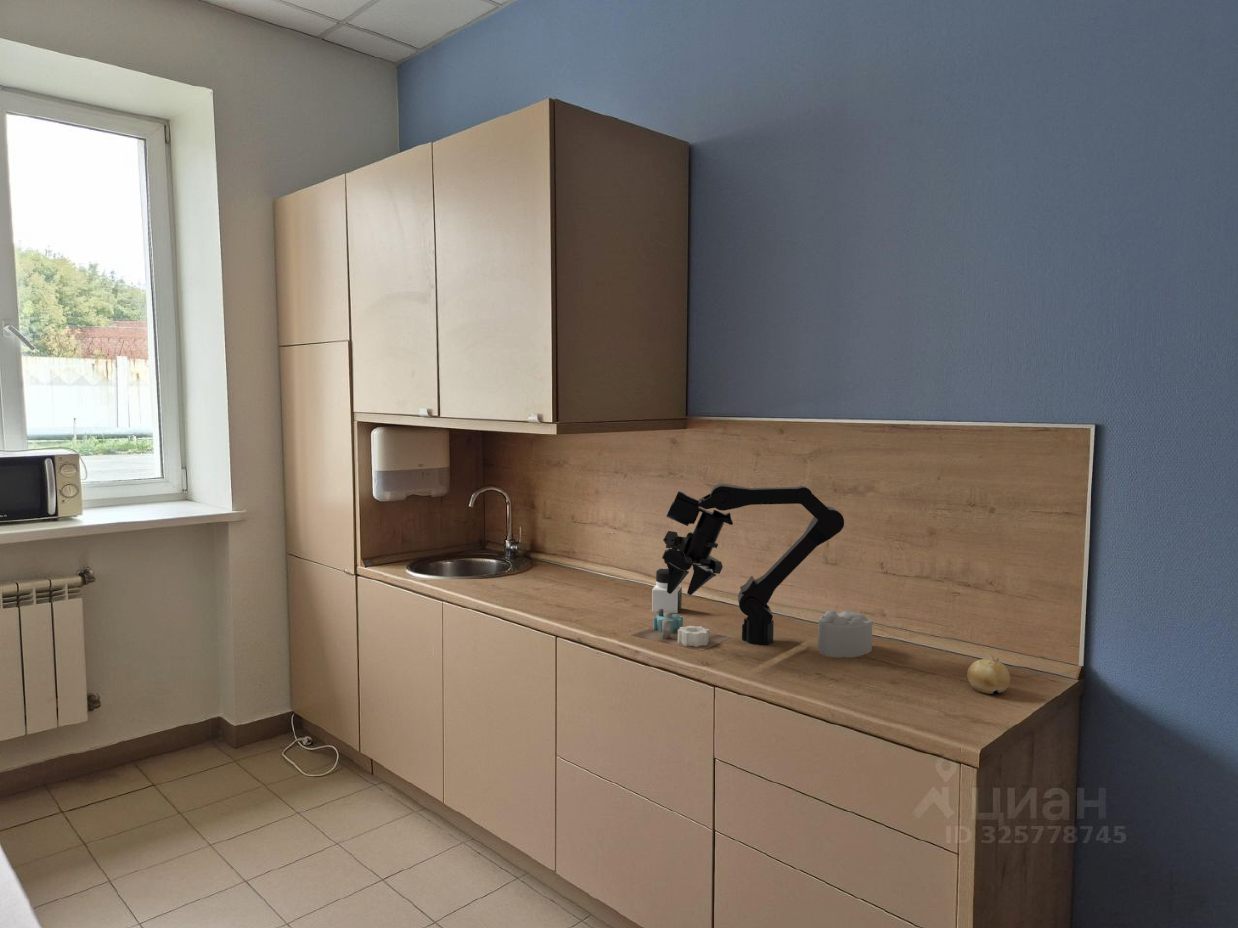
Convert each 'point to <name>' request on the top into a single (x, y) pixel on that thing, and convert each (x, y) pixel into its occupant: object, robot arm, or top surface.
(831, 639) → the lumpy-topped squat cylinder
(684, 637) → the off-white gear
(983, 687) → the onion
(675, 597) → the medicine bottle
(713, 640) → the gear board
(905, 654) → the top surface
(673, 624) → the teal gear
